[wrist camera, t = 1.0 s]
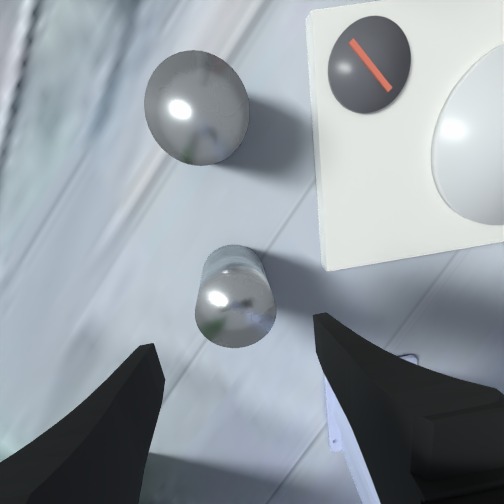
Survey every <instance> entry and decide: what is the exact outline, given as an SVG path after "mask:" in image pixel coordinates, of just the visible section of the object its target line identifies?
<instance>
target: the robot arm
mask: <svg viewBox="0 0 504 504" xmlns="http://www.w3.org/2000/svg"><path fill="white" fill-rule="evenodd" d="M313 321H314V333H315V345H316V353H317V356H318V359H319V362H320V364H321V367H322V370H323V372H324V381H325V394H326V408H327V421H328V435H329V447H330V450H331V451H332V452H340V451H342V452H343V455H344V457H345V460H346V463H347V465H348V468H349V470H350V473H351V475H352V478H353V480H354V483H355V485H356V488H357V491H358V493H359V496H360V498H361V501H362V503H363V504H504V395H503V394H502V393H501V392H500V391H498V390H497V389H495V388H491V387H487V386H484V385H480V384H476V383H472V382H468V381H464V380H460V379H457V378H453V377H450V376H447V375H444V374H441V373H438V372H435V371H432V370H429V369H426V368H424V367H421V366H419V365H417V363H418V361H417V359H416V358H415V357H414V356H413V355H408V356H403V357H398V356H396V355H394V354H391V353H389V352H387V351H385V350H383V349H382V348H380V347H378V346H376V345H374V344H373V343H371V342H369V341H367V340H366V339H364V338H363V337H361V336H359V335H358V334H356V333H355V332H353V331H352V330H350V329H349V328H347V327H346V326H344V325H343V324H342V323H340V322H339V321H337V320H336V319H335V318H333V317H332V316H330V315H329V314H328V313H321V314H315V315H313ZM164 384H165V377H164V374H163V371H162V368H161V365H160V362H159V358H158V355H157V352H156V349H155V346H154V343H151V344H146V345H140V346H139V347H138V348H137V349H136V350H135V351H134V352H133V353H132V354H131V355H130V356H129V357H128V358H127V359H126V360H125V361H124V362H123V363H122V364H121V365H120V366H119V367H118V368H117V369H116V370H115V371H114V372H113V373H112V374H111V376H110V377H109V378H108V379H107V380H106V381H104V382H103V383H102V384H101V385H100V386H99V387H98V388H97V389H96V390H95V391H94V392H93V393H92V394H91V395H90V396H89V397H88V398H87V399H85V400H84V401H83V402H82V403H81V404H80V405H79V406H77V407H76V408H75V409H74V410H73V411H72V412H70V413H69V414H68V415H67V416H65V417H64V418H63V419H62V420H60V421H59V422H58V423H57V424H55V425H54V426H52V427H51V428H50V429H48V430H47V431H46V432H44V433H43V434H42V435H40V436H39V437H38V438H36V439H35V440H33V441H32V442H31V443H29V444H28V445H26V446H25V447H23V448H22V449H20V450H19V451H17V452H16V453H14V454H13V455H11V456H10V457H8V458H7V459H5V460H3V461H2V462H0V504H138V502H139V496H140V490H141V485H142V479H143V473H144V468H145V464H146V460H147V455H148V452H149V448H150V445H151V441H152V437H153V434H154V430H155V427H156V423H157V419H158V415H159V412H160V408H161V404H162V399H163V392H164Z"/></svg>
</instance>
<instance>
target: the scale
mask: <svg viewBox="0 0 504 504" xmlns="http://www.w3.org/2000/svg"><path fill="white" fill-rule="evenodd" d="M305 23H306V38H307V53H308V68H309V83H310V98H311V112H312V127H313V142H314V157H315V172H316V187H317V202H318V217H319V232H320V247H321V262H322V266H323V267H324V269H325V270H326V271H327V272H329V271H335V270H340V269H346V268H352V267H358V266H364V265H370V264H376V263H381V262H387V261H393V260H399V259H405V258H411V257H417V256H422V255H428V254H434V253H440V252H446V251H452V250H457V249H463V248H469V247H475V246H481V245H487V244H493V243H498V242H504V0H381V1H374V2H367V3H359V4H352V5H345V6H337V7H330V8H323V9H315V10H311V12H310V13H309V15H308V17H307V18H306V20H305Z"/></svg>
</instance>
